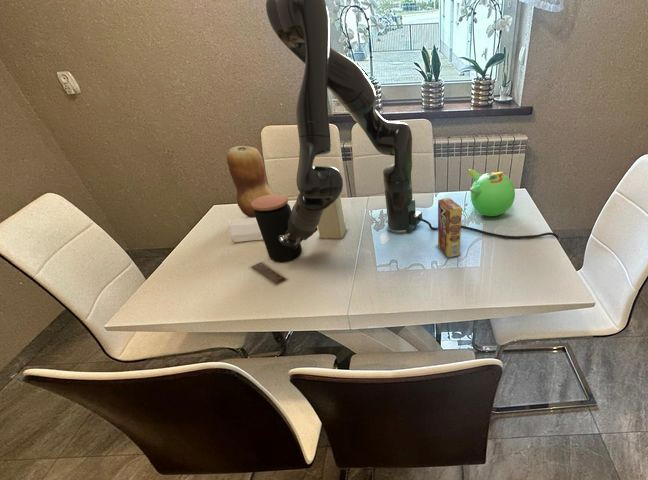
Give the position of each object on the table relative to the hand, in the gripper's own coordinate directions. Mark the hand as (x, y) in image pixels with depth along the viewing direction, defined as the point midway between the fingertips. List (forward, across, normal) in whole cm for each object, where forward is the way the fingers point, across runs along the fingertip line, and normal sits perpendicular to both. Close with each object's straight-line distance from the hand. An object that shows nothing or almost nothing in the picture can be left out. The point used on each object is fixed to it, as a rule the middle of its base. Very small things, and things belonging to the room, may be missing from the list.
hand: (292, 246), depth 118 cm
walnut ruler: (+4, +10, +3) cm, 11 cm away
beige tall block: (+8, -20, -1) cm, 21 cm away
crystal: (+21, -2, -14) cm, 25 cm away
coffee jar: (+8, 0, -1) cm, 8 cm away
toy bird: (-16, -67, +23) cm, 73 cm away
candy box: (-20, -36, +28) cm, 49 cm away
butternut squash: (+32, -10, -26) cm, 43 cm away
